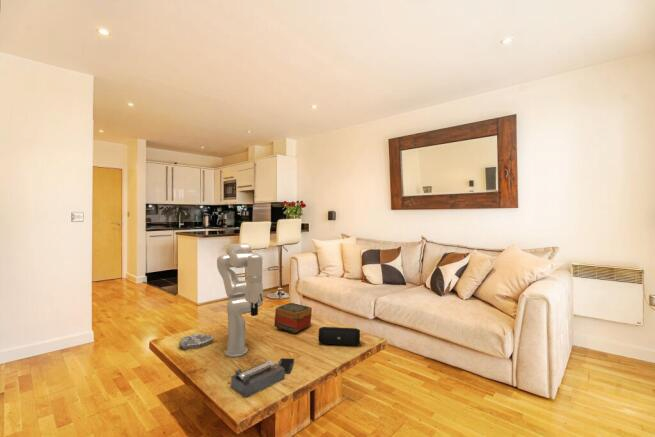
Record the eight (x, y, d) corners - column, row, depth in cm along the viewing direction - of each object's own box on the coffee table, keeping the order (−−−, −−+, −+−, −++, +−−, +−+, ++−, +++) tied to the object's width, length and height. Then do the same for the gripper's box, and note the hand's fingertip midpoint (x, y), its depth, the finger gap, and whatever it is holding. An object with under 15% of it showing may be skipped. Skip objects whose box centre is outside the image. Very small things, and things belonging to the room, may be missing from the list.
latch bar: (243, 381, 137) (243, 376, 137) (237, 377, 140) (237, 372, 140) (276, 366, 151) (276, 362, 151) (269, 363, 154) (270, 359, 154)
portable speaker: (318, 346, 188) (318, 329, 188) (319, 339, 198) (320, 324, 198) (359, 348, 186) (360, 331, 186) (359, 341, 196) (359, 326, 196)
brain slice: (205, 335, 202) (205, 331, 202) (216, 343, 190) (216, 339, 190) (173, 344, 188) (173, 339, 188) (183, 353, 176) (183, 348, 176)
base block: (245, 397, 134) (245, 379, 134) (231, 387, 142) (231, 369, 142) (284, 378, 150) (284, 362, 150) (269, 369, 158) (269, 354, 158)
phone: (274, 372, 155) (280, 358, 170) (274, 374, 155) (280, 360, 170) (290, 372, 154) (294, 358, 169) (290, 374, 154) (294, 360, 169)
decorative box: (271, 330, 214) (271, 308, 212) (292, 319, 232) (292, 298, 230) (294, 339, 203) (293, 315, 201) (314, 326, 221) (314, 304, 219)
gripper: (240, 278, 158) (239, 313, 158) (257, 282, 148) (256, 320, 148) (252, 276, 163) (252, 310, 163) (269, 280, 153) (269, 316, 153)
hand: (254, 315), depth 155 cm, fingers closed
